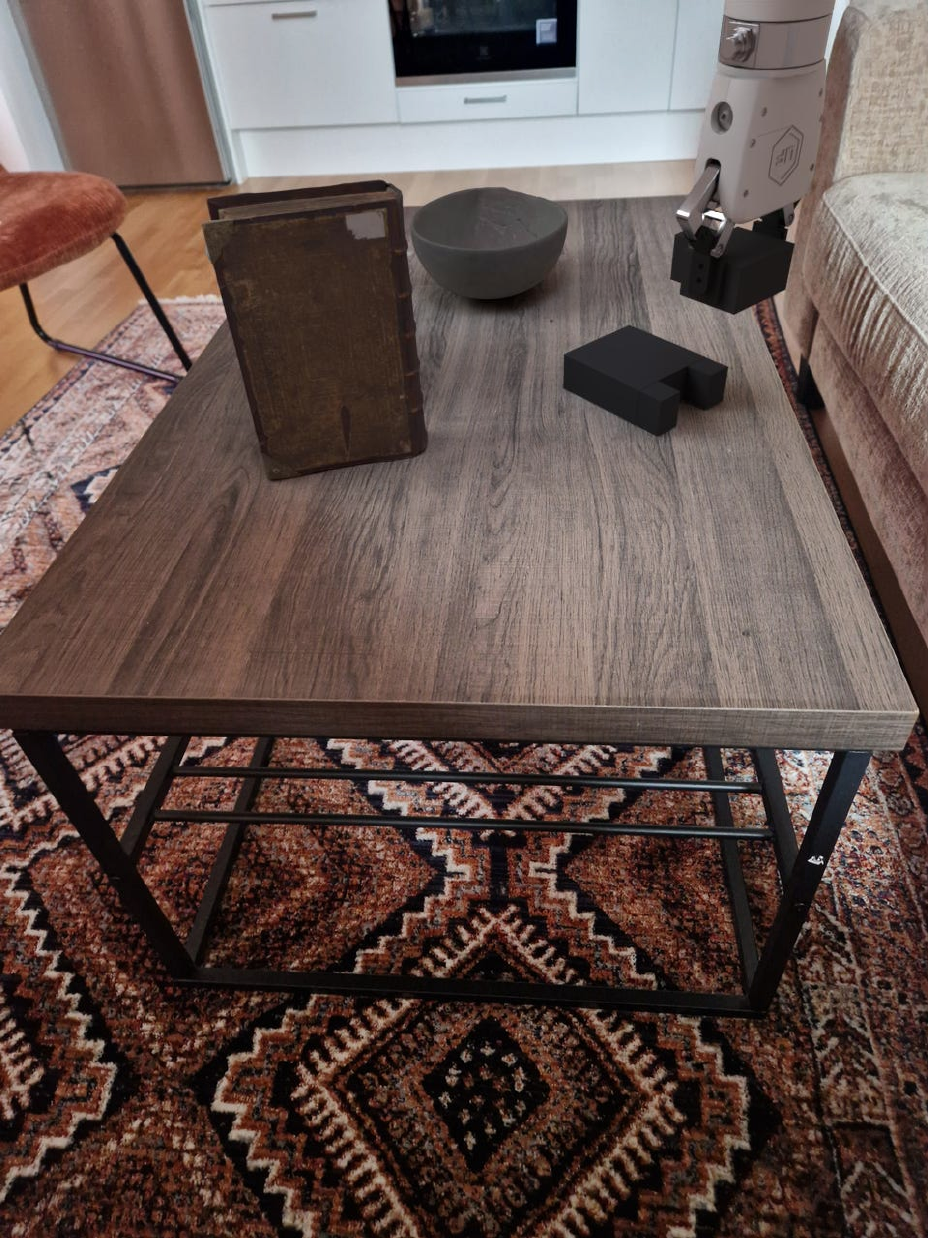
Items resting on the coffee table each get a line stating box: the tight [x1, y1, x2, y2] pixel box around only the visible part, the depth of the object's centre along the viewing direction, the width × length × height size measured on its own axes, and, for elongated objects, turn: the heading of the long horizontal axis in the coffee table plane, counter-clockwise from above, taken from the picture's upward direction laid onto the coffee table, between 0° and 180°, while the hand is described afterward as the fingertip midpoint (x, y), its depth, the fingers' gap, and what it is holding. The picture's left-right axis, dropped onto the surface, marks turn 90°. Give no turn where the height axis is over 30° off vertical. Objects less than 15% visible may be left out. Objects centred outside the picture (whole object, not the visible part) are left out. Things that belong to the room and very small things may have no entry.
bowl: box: [409, 186, 569, 300], centre depth 110 cm, size 20×20×10 cm
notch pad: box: [562, 324, 729, 437], centre depth 90 cm, size 14×10×4 cm
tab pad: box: [669, 225, 796, 316], centre depth 74 cm, size 9×7×4 cm
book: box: [201, 179, 429, 481], centre depth 78 cm, size 17×7×25 cm, turn 95°
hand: (734, 283), depth 74 cm, fingers closed on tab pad, 7 cm apart
